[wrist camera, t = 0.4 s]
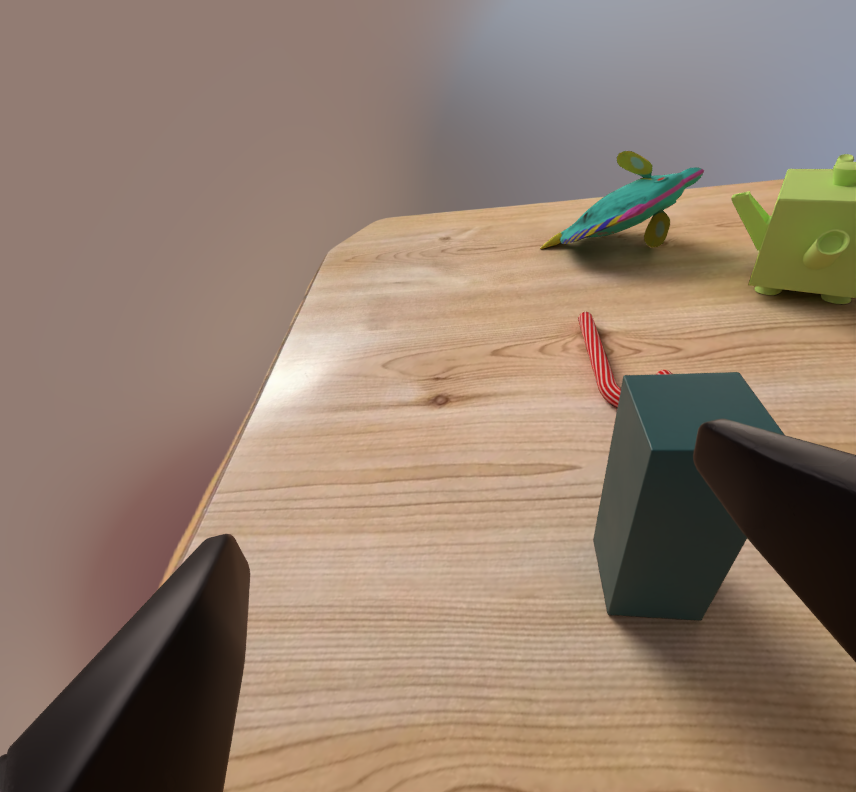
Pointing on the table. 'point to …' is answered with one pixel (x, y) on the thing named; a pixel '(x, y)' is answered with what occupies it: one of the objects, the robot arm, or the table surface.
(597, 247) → the table surface
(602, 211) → the decorative fish
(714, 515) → the block
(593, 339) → the candy cane
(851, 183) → the kettle
